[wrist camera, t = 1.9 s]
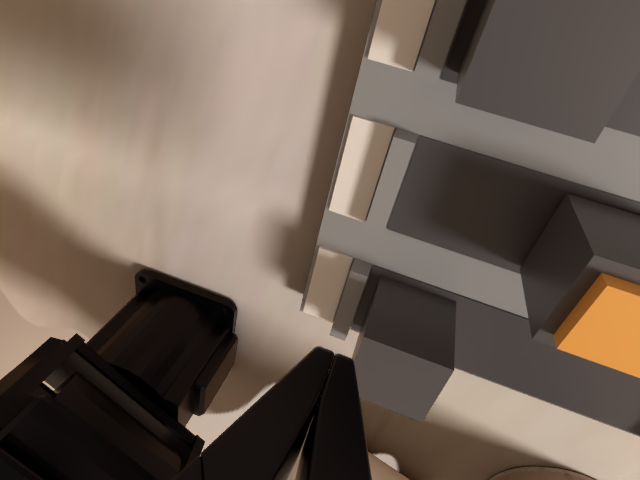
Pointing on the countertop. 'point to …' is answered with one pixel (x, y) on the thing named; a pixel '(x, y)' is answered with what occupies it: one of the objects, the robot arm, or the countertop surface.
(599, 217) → the block
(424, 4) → the breaker panel
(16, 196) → the countertop surface
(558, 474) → the thermos bottle
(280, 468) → the robot arm
